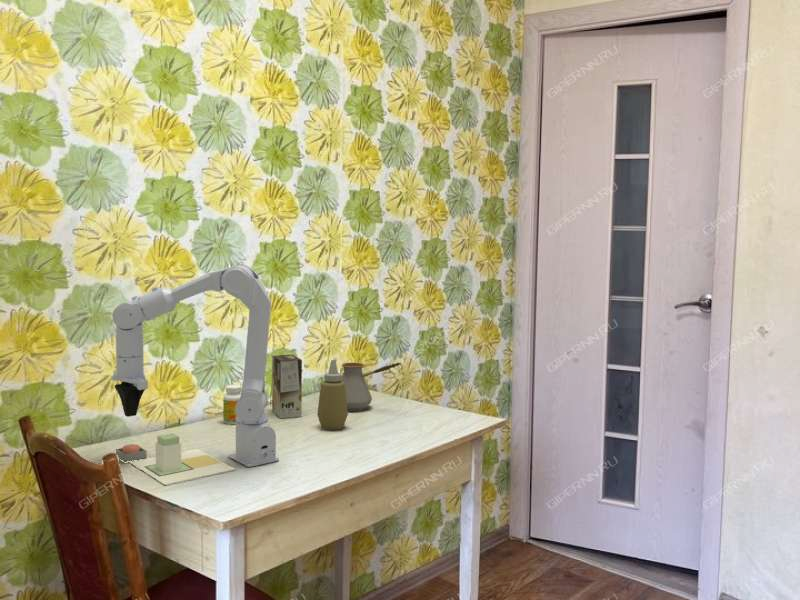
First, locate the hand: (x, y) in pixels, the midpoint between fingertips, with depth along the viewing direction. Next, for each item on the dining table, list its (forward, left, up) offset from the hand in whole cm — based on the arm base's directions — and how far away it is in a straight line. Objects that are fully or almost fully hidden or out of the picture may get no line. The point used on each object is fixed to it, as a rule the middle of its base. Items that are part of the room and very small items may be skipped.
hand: (130, 415), depth 170 cm
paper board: (-12, -6, -10) cm, 17 cm away
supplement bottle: (+14, -34, -10) cm, 38 cm away
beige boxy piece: (-12, -3, -10) cm, 16 cm away
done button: (0, 0, -10) cm, 10 cm away
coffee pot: (+3, -70, -10) cm, 71 cm away
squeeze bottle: (-6, -52, -10) cm, 53 cm away
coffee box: (+13, -50, -10) cm, 52 cm away
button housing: (0, 0, -10) cm, 10 cm away
